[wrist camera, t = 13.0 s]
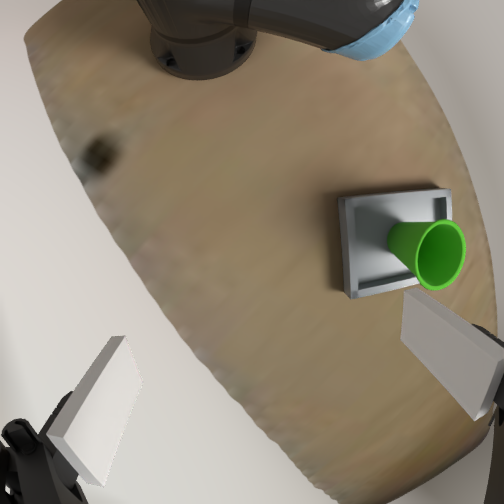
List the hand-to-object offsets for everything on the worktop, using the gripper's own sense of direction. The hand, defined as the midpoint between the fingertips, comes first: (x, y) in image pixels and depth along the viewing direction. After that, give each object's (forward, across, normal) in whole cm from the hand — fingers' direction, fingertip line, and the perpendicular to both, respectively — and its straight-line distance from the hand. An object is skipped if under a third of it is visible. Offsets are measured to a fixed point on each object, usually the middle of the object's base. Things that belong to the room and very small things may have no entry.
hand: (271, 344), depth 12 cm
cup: (+28, +23, -4) cm, 36 cm away
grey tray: (+29, +23, -4) cm, 37 cm away
